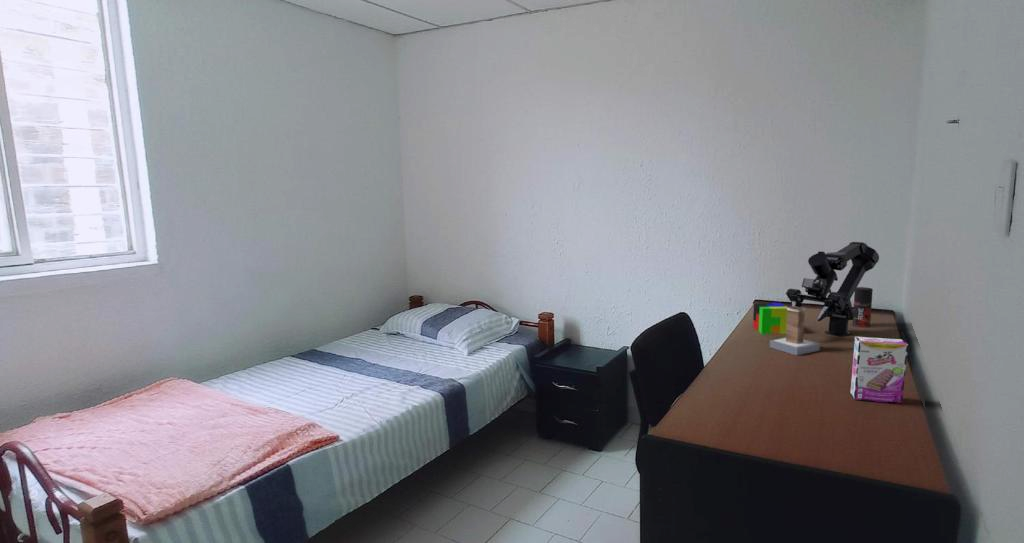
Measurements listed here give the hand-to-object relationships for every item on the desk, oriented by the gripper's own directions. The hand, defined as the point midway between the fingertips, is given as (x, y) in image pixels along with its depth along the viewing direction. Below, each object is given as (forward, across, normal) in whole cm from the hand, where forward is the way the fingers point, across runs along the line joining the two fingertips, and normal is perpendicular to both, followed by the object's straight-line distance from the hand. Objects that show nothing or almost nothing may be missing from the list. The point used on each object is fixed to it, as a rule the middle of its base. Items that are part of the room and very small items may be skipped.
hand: (805, 318), depth 193 cm
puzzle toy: (0, -19, +14) cm, 24 cm away
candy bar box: (+30, +37, -16) cm, 50 cm away
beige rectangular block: (+10, 0, +1) cm, 10 cm away
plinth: (+11, 0, +2) cm, 12 cm away
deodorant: (-22, 0, +38) cm, 44 cm away
